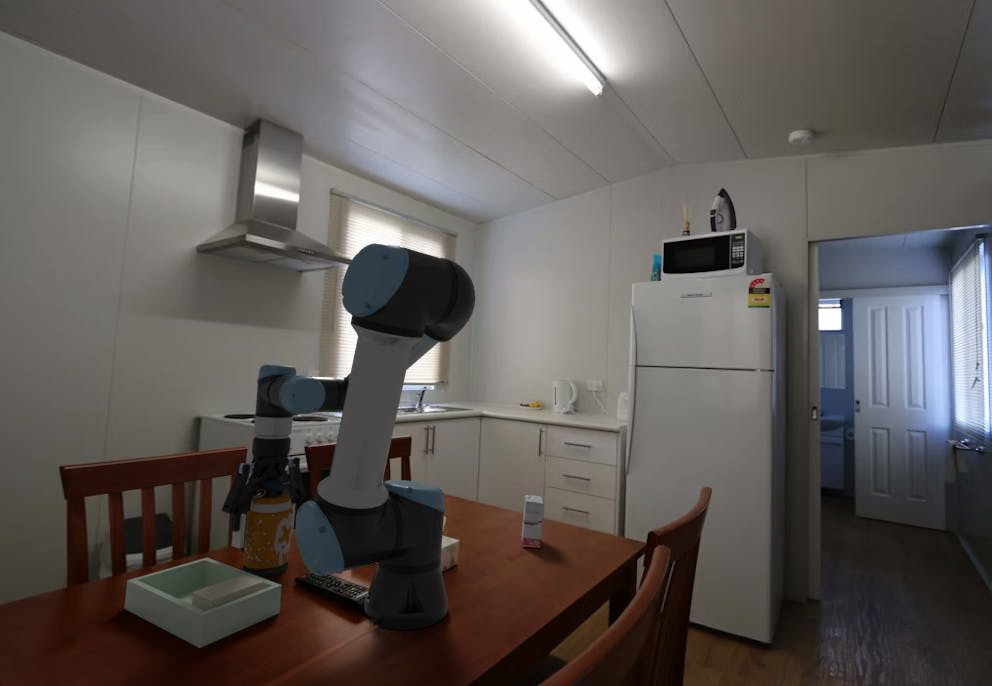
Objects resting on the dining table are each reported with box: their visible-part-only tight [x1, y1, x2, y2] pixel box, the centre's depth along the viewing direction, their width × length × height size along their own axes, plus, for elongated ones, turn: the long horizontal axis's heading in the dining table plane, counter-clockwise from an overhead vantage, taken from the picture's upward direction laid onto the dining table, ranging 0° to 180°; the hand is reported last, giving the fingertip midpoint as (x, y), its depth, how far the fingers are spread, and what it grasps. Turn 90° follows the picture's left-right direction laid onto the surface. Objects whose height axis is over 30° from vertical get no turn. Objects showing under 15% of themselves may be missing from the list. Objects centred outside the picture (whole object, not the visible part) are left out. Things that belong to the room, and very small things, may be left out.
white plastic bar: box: [192, 575, 263, 611], centre depth 85 cm, size 5×9×6 cm, turn 151°
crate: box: [123, 557, 282, 649], centre depth 88 cm, size 22×14×6 cm, turn 61°
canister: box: [238, 478, 293, 578], centre depth 108 cm, size 9×11×20 cm
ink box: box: [521, 494, 545, 547], centre depth 136 cm, size 9×5×12 cm, turn 179°
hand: (263, 539), depth 108 cm, fingers open, 11 cm apart
